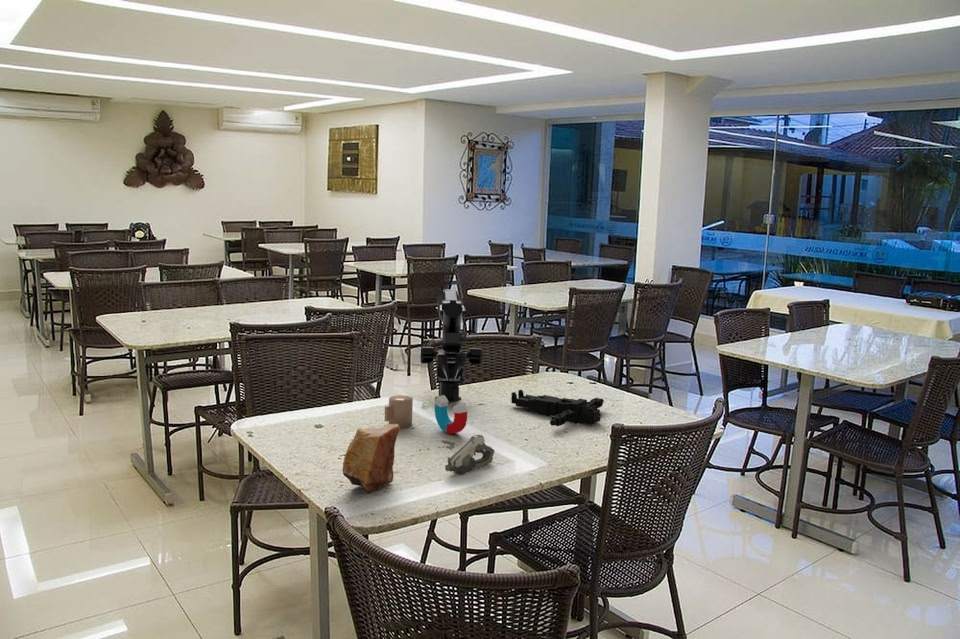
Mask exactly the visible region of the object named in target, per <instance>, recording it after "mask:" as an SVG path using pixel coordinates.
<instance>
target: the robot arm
mask: <svg viewBox="0 0 960 639" xmlns="http://www.w3.org/2000/svg"><path fill="white" fill-rule="evenodd" d="M458 292H459V291H458V290H457V289H449V288H448V289H443V290H442V294H441V295H439V296H438V297H437V309H436V310H437V313H438V317H439V320H440V321H441V322H442V330H441V332H442V334H441V335H442V338H441V340H442V341H441V344H442V345H441V350H440V349H439V350H437V351H434V350H435V348H434V347H435V346H422V347H421V348H420V363H421V364H427V365H428V364H429V365H430V364H432V363H434V359H436V373H435V374H436V376H435V378H436V380H435V382H436V383H437V384H438V395H437V396H442V395H445V397H446V398H447V400H448V401H449V402H448V403H451V402H455V401H459V400H462V397H461V396H460V386H459V384H462V383H464V378H465V377H464V376H465V374H464V373H465V369H464V367H465V366H466V361H467V360H468V363H469V364H470V365H471V366H472V365H476V366H477V365H478V366H480V365H481V364H482V363H483V354H484V353H483V349H482V348H480V347H469V350H468V352H467V351H462V344H465V343H467V336H468V335H467V331H462V322H463V321H462V319H463V317H465V315H467V309H466V307H465V306H464V305H463V303H462V302H463V301H462V297H461V296H460V294H459V293H458ZM437 396H435V397H434V399H436V398H437Z"/></svg>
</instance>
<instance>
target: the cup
mask: <svg viewBox="0 0 960 639" xmlns="http://www.w3.org/2000/svg"><path fill="white" fill-rule="evenodd" d="M413 399H414V398H413V397H412V396H409V395H405V394H404V395H392V396H390V397H389V398H388V405H384V421H385V422H388V424H398V425H399V426H400V429H406V428H407V429H408V428H410V427H412V426H413Z"/></svg>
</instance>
